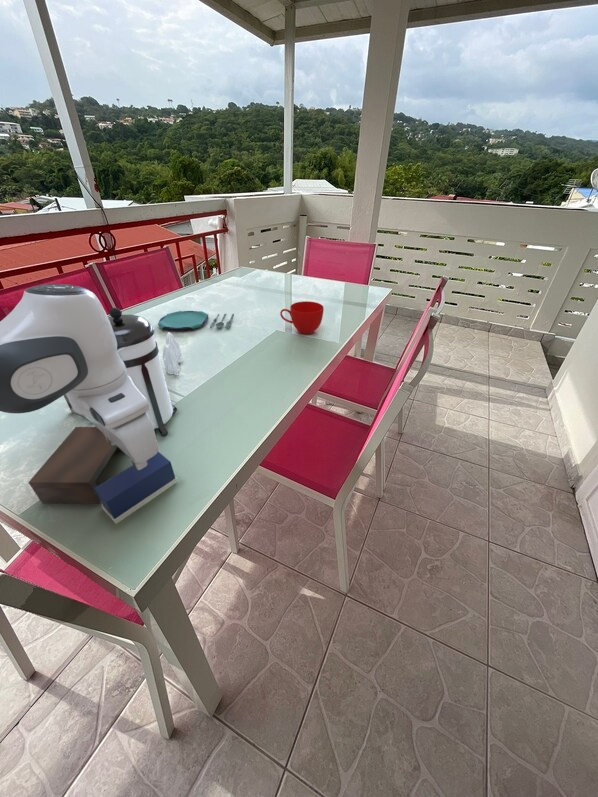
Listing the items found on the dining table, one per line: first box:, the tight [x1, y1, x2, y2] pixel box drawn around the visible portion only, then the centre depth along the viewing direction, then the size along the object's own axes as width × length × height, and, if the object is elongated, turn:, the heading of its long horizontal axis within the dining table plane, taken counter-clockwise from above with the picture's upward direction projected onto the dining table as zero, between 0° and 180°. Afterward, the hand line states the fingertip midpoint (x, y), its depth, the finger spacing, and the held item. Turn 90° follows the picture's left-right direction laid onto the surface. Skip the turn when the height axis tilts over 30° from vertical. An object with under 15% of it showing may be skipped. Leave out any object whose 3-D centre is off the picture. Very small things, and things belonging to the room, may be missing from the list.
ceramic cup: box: [279, 300, 325, 335], centre depth 130 cm, size 13×17×10 cm
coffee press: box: [108, 307, 178, 437], centre depth 77 cm, size 17×16×30 cm
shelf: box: [28, 426, 123, 504], centre depth 69 cm, size 11×16×6 cm
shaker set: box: [162, 332, 183, 377], centre depth 105 cm, size 12×4×11 cm, turn 8°
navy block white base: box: [94, 451, 179, 525], centre depth 64 cm, size 13×5×6 cm, turn 141°
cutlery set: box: [157, 310, 235, 330], centre depth 138 cm, size 20×30×2 cm, turn 89°
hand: (127, 453), depth 59 cm, fingers open, 8 cm apart
